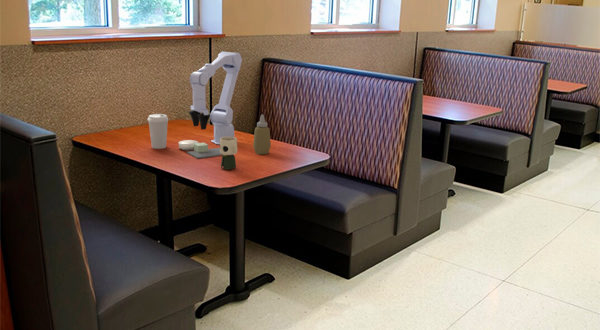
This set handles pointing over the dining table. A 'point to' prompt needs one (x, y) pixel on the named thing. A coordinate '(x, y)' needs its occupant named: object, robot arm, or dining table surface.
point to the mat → (206, 153)
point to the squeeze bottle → (262, 137)
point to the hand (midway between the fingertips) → (199, 127)
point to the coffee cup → (158, 130)
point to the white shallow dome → (187, 144)
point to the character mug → (228, 152)
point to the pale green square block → (200, 147)
